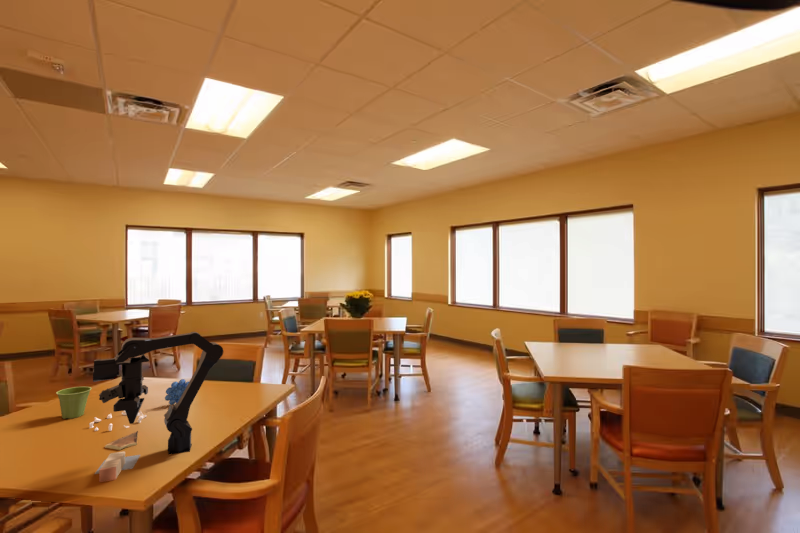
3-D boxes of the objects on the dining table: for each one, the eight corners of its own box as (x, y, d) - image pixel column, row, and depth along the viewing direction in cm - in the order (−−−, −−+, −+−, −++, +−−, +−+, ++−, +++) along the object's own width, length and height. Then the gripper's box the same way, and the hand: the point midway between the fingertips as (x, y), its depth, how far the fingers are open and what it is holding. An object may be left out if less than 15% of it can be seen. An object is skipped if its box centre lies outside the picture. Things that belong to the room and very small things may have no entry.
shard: (137, 435, 148) (137, 429, 148) (156, 438, 146) (156, 432, 146) (103, 450, 136) (103, 443, 136) (123, 453, 133) (123, 447, 133)
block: (125, 451, 124) (115, 467, 115) (125, 463, 124) (115, 480, 115) (110, 453, 122) (99, 470, 113) (110, 465, 123) (99, 483, 113)
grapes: (193, 400, 189) (193, 376, 189) (192, 404, 183) (192, 379, 183) (165, 403, 184) (166, 378, 184) (163, 407, 178) (164, 382, 178)
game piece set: (157, 417, 167) (157, 408, 167) (112, 435, 148) (112, 425, 148) (123, 412, 172) (123, 404, 172) (75, 429, 153) (75, 420, 153)
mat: (140, 455, 131) (140, 454, 131) (132, 469, 122) (132, 468, 122) (105, 460, 127) (105, 459, 127) (94, 475, 118) (94, 474, 118)
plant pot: (70, 422, 159) (71, 395, 159) (47, 419, 161) (48, 393, 162) (97, 412, 171) (98, 387, 171) (76, 410, 173) (77, 385, 173)
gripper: (110, 372, 132) (110, 417, 132) (93, 387, 115) (92, 438, 115) (148, 368, 137) (148, 412, 137) (137, 382, 120) (136, 432, 120)
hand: (131, 423), depth 127 cm, fingers closed
